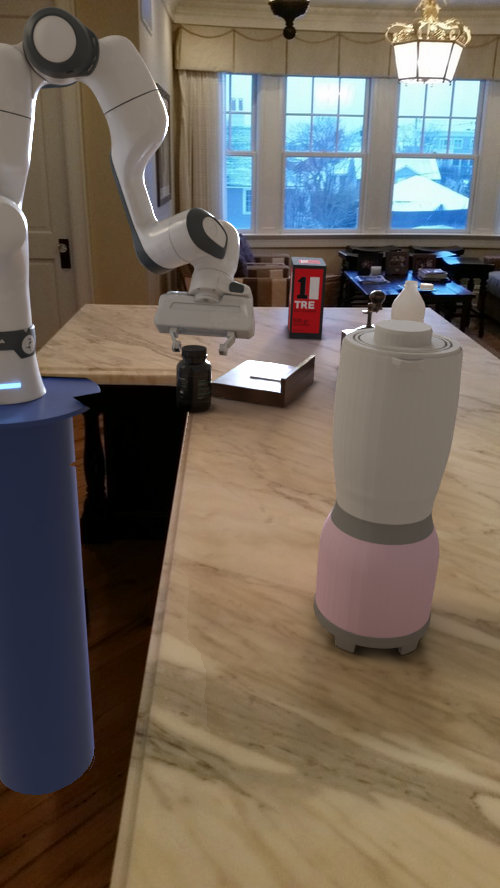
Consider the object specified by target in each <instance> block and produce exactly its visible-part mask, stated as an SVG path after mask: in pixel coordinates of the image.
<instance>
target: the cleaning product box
mask: <svg viewBox="0 0 500 888" xmlns="http://www.w3.org/2000/svg"><path fill="white" fill-rule="evenodd" d="M289 271H290V273H289V289H288V290H289V292H288V293H289V294H288V311H287V312H288V313H287V332H288V338H289V339H293V340H294V339H296V340H322V336H323V322H324V308H325V295H326V279H327V264H326V262H325V261H324V259H323V257H307V256H290V270H289Z"/></svg>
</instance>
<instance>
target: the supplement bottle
mask: <svg viewBox="0 0 500 888" xmlns="http://www.w3.org/2000/svg"><path fill="white" fill-rule="evenodd" d="M207 351H208V349H207V346H204V345H200V344H188V345H187V344H186V345H182V347H181V354H180V357H181V359H180V360H179V361H178V362H177V364H176V368H175V375H176V376H175V378H176V379H175V380H176V381H175V382H176V383H175V384H176V385H175V386H176V388H175V389H176V390H175V391H176V392H175V393H176V394H175V395H176V398H175V399H176V407H177V409H178V410H180V411H182V412H185V413H191V414H192V413H193V414H194V413H203V412H206V411H209V410H210V409H211V407H212V397H213V396H212V382H213V366H212V364H211V362H210V361H208V360H207V358H208V354H207V353H208V352H207Z"/></svg>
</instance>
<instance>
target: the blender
mask: <svg viewBox="0 0 500 888" xmlns="http://www.w3.org/2000/svg"><path fill="white" fill-rule="evenodd" d="M374 326H375V327H374V328H369V329H361V330H356V331H352V332H350V333H348V334H347V335H346V336H345V337H344V339H343V341H342V346H341V345H340V348H341V354H340V353H339V361H338V362H339V363H338V369H337V376H336V383H335V390H334V391H335V393H334V406H333V417H332V418H333V419H332V431H331V432H332V436H331V437H332V440H331V442H332V444H331V445H332V464H333V473H334V483H335V502H334V504H333V507H332V509H331V511H330V512H329V514H328V515H327V517H326V518H325V520H324V523H323V525H322V528H321V532H320V535H319V543H318V554H317V567H316V581H315V583H316V584H315V586H316V587H315V593H314V598H313V600H314V601H313V612H314V613H313V614H314V616H315V618H316V620H317V621H318V623H319V624H320V625H321V626H322V627H323V628H324V629H325V630H326V631H327V632H328V633H330V634H331V635H333V636H334V645H335V646H336V647H338V648H339V649H341V650H344V651H346V652H348V653H351V654H353V653H355V651H356V649H357V648H356V647H357V646H360V647H365V648H369V649H370V648H371V649H396V648H397V652H398V653H399V654H400V655H402V656H403V655H407V654H410V653H412V652H414V651H415V650H417V647H418V644H419V641H420V640H421V639H422V638H423V637H424V636H425V635H426V634H427V632H428V631H429V628H430V624H431V618H432V604H433V599H434V593H435V588H436V581H437V575H438V568H439V561H440V539H439V536H438V531H437V529H436V526H435V523H434V519H433V508H434V505H435V500H436V497H437V495H438V493H439V490H440V486H441V483H442V480H443V477H444V473H445V470H446V467H447V464H448V461H449V457H450V453H451V449H452V445H453V440H454V434H455V433H454V432H455V426H456V420H457V414H458V408H459V400H460V391H461V377H462V366H463V357H464V348H463V347H462V346H461V344H460V343H459V341H457V340H456V339H454V338H452V337H449V336H447V335H443V334H440V333H436V332H434V331H433V327H432V326H431V325H430V324H427V323H421V322H416V321H408V320H390V319H384V320H383V319H382V320H378V321H377V322H376V323H375V324H374Z"/></svg>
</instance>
